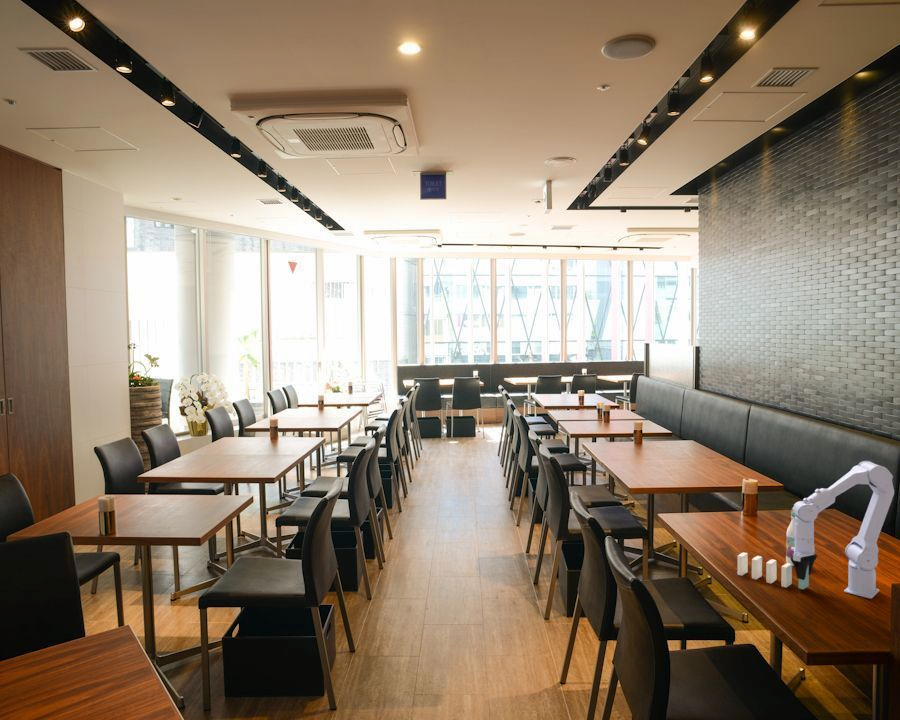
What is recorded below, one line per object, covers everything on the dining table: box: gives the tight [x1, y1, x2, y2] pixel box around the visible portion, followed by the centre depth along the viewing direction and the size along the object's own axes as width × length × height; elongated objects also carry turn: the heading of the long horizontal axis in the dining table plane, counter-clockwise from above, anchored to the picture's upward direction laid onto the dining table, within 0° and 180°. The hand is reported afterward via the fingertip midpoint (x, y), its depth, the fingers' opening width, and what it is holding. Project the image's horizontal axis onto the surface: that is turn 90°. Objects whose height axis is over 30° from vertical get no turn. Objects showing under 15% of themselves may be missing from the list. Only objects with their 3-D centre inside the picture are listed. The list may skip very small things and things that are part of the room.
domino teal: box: [797, 565, 810, 590], centre depth 211 cm, size 5×2×7 cm, turn 132°
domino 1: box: [736, 551, 749, 576], centre depth 226 cm, size 5×2×7 cm, turn 132°
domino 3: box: [765, 558, 778, 584], centre depth 219 cm, size 5×2×7 cm, turn 132°
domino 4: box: [780, 562, 793, 588], centre depth 215 cm, size 5×2×7 cm, turn 132°
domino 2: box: [751, 555, 763, 580], centre depth 222 cm, size 5×2×7 cm, turn 132°
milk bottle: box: [785, 510, 795, 567], centre depth 234 cm, size 8×8×20 cm
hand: (803, 576), depth 211 cm, fingers closed on domino teal, 5 cm apart
